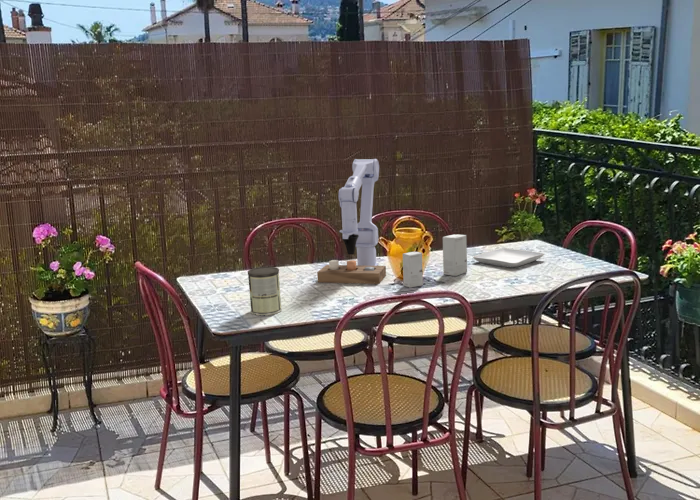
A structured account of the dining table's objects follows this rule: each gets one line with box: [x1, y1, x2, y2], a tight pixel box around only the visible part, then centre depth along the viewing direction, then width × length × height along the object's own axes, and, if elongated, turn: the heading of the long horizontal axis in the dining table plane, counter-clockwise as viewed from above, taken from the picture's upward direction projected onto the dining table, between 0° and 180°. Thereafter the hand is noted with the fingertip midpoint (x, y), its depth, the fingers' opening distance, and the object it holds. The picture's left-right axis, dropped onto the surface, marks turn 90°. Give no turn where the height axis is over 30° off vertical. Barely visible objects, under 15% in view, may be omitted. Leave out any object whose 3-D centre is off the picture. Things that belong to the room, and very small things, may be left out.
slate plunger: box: [365, 267, 374, 271], centre depth 274 cm, size 4×4×4 cm
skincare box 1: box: [402, 251, 424, 289], centre depth 262 cm, size 6×4×12 cm
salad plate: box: [472, 247, 545, 268], centre depth 293 cm, size 21×21×3 cm
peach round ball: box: [346, 259, 357, 270], centre depth 276 cm, size 4×4×4 cm
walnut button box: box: [316, 264, 387, 285], centre depth 276 cm, size 12×24×4 cm, turn 75°
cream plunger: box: [328, 259, 340, 270], centre depth 278 cm, size 4×4×4 cm
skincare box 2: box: [442, 233, 468, 277], centre depth 276 cm, size 8×6×15 cm
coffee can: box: [247, 266, 282, 316], centre depth 239 cm, size 10×10×14 cm
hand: (351, 254), depth 275 cm, fingers closed
